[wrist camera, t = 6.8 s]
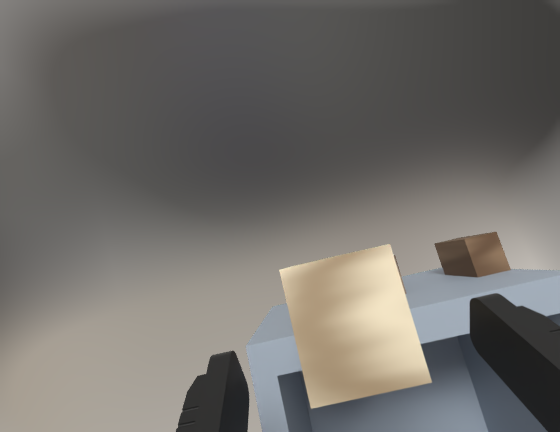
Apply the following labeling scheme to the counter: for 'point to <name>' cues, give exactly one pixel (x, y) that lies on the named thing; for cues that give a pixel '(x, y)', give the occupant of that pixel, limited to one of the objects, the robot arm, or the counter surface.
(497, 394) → the shelf
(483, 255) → the walnut crosspiece
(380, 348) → the birch bar
